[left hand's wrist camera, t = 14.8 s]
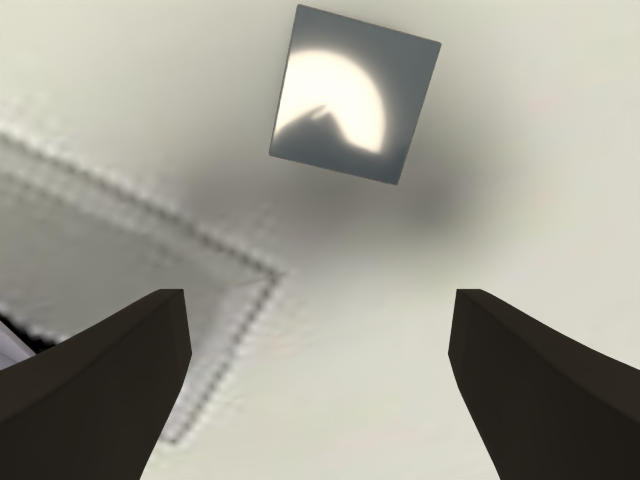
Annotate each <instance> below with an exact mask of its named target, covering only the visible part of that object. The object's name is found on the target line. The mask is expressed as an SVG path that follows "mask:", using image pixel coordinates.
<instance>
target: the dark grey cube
mask: <svg viewBox="0 0 640 480" xmlns="http://www.w3.org/2000/svg"><path fill="white" fill-rule="evenodd" d="M440 48H441V43H440V42H437V41H433V40H430V39H426V38H422V37H419V36H415V35H411V34H408V33H404V32H400V31H397V30H393V29H389V28H386V27H382V26H378V25H375V24H371V23H367V22H364V21H360V20H356V19H353V18H349V17H345V16H342V15H338V14H334V13H331V12H327V11H323V10H320V9H316V8H312V7H309V6H305V5H301V4H298V5H297V9H296V14H295V19H294V24H293V30H292V35H291V40H290V45H289V50H288V55H287V61H286V66H285V71H284V76H283V81H282V86H281V92H280V97H279V102H278V107H277V112H276V118H275V123H274V128H273V133H272V138H271V143H270V149H269V155H270V156H273V157H277V158H281V159H286V160H290V161H294V162H298V163H303V164H307V165H311V166H315V167H319V168H324V169H328V170H332V171H336V172H340V173H345V174H349V175H353V176H357V177H361V178H366V179H370V180H374V181H378V182H383V183H387V184H391V185H395V186H396V185H398V182H399V179H400V176H401V173H402V169H403V166H404V163H405V160H406V157H407V153H408V150H409V147H410V144H411V141H412V138H413V134H414V131H415V128H416V125H417V122H418V118H419V115H420V112H421V109H422V106H423V102H424V99H425V96H426V93H427V90H428V87H429V83H430V80H431V77H432V74H433V71H434V67H435V64H436V61H437V58H438V55H439V51H440Z"/></svg>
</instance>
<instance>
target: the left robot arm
mask: <svg viewBox="0 0 640 480" xmlns="http://www.w3.org/2000/svg"><path fill="white" fill-rule="evenodd" d="M191 356H192V350H191V342H190V335H189V328H188V320H187V313H186V306H185V298H184V291H183V289H159V290H157V291H154V292H152V293H150V294H148V295H147V296H145V297H143V298H141V299H139V300H138V301H136V302H134V303H132V304H131V305H129V306H127V307H125V308H124V309H122V310H120V311H118V312H117V313H115V314H113V315H111V316H110V317H108V318H106V319H104V320H103V321H101V322H99V323H97V324H96V325H94V326H92V327H90V328H88V329H86V330H84V331H82V332H80V333H79V334H77V335H75V336H73V337H71V338H69V339H67V340H65V341H63V342H62V343H60V344H58V345H56V346H54V347H52V348H50V349H47V350H45V351H43V352H41V353H39V354H36V353H34V352H33V351H32V350H31V349H30V348H29V347H28V346H27V345H26V344H25V343H24V342H23V341H22V340H20V339H19V338H18V337H17V336H16V335H15V334H14V333H13V332H12V331H11V330H10V329H9V328H8V327H7V326H5V325H4V324H3V323H2V322H1V321H0V480H140V477H141V475H142V473H143V470H144V468H145V466H146V464H147V461H148V459H149V457H150V455H151V453H152V451H153V449H154V447H155V444H156V442H157V440H158V438H159V436H160V434H161V432H162V430H163V427H164V425H165V423H166V421H167V419H168V417H169V415H170V412H171V410H172V408H173V406H174V404H175V402H176V399H177V397H178V395H179V393H180V391H181V388H182V386H183V382H184V379H185V376H186V373H187V370H188V366H189V363H190V359H191ZM448 356H449V359H450V363H451V366H452V370H453V373H454V376H455V379H456V382H457V385H458V388H459V390H460V393H461V395H462V397H463V399H464V402H465V404H466V406H467V408H468V410H469V412H470V415H471V417H472V419H473V421H474V423H475V425H476V427H477V429H478V432H479V434H480V436H481V438H482V440H483V442H484V444H485V446H486V449H487V451H488V453H489V455H490V457H491V459H492V461H493V463H494V466H495V468H496V470H497V473H498V475H499V477H500V480H640V370H638V369H636V368H634V367H631V366H629V365H627V364H624V363H622V362H620V361H617V360H615V359H613V358H610V357H608V356H606V355H604V354H602V353H599V352H597V351H595V350H593V349H591V348H589V347H587V346H585V345H583V344H581V343H579V342H577V341H575V340H573V339H571V338H569V337H567V336H565V335H563V334H561V333H559V332H558V331H556V330H554V329H552V328H550V327H548V326H547V325H545V324H543V323H541V322H539V321H538V320H536V319H534V318H532V317H531V316H529V315H527V314H525V313H524V312H522V311H520V310H518V309H517V308H515V307H513V306H511V305H510V304H508V303H506V302H505V301H503V300H501V299H499V298H497V297H496V296H494V295H492V294H490V293H488V292H486V291H483V290H481V289H457V291H456V299H455V306H454V313H453V321H452V328H451V335H450V343H449V350H448Z"/></svg>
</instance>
